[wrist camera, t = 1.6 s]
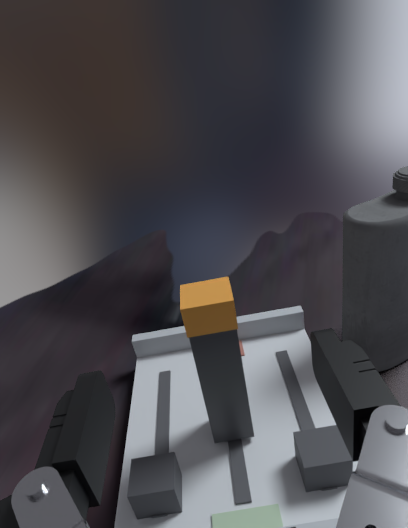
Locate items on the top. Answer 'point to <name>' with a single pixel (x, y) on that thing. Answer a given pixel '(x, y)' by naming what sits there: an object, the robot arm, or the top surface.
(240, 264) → the top surface
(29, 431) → the top surface
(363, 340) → the flask
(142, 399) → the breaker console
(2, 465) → the top surface
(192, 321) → the handle
